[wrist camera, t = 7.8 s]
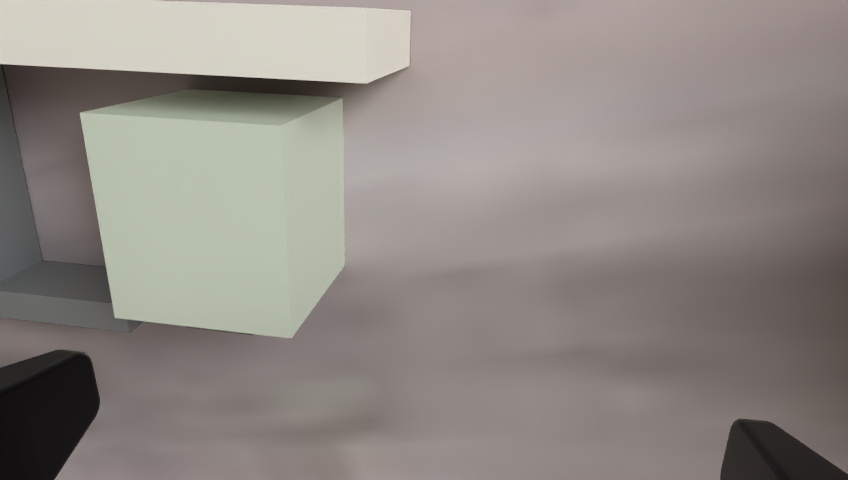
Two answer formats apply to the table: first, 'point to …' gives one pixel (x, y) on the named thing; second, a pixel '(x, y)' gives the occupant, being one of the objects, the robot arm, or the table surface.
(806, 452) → the robot arm
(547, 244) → the table surface
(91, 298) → the cleat board
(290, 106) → the cabinet block
